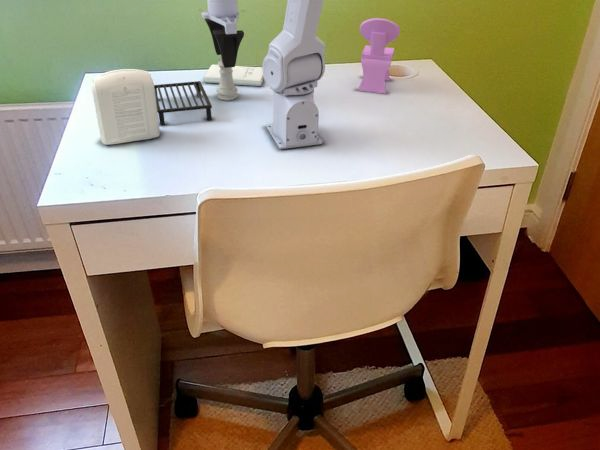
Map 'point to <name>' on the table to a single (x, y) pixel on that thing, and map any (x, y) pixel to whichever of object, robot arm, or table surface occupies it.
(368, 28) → the toy chair
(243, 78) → the hard drive
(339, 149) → the table surface
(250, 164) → the table surface
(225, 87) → the rook chess piece
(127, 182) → the table surface
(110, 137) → the photo printer
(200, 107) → the rack
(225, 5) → the robot arm
